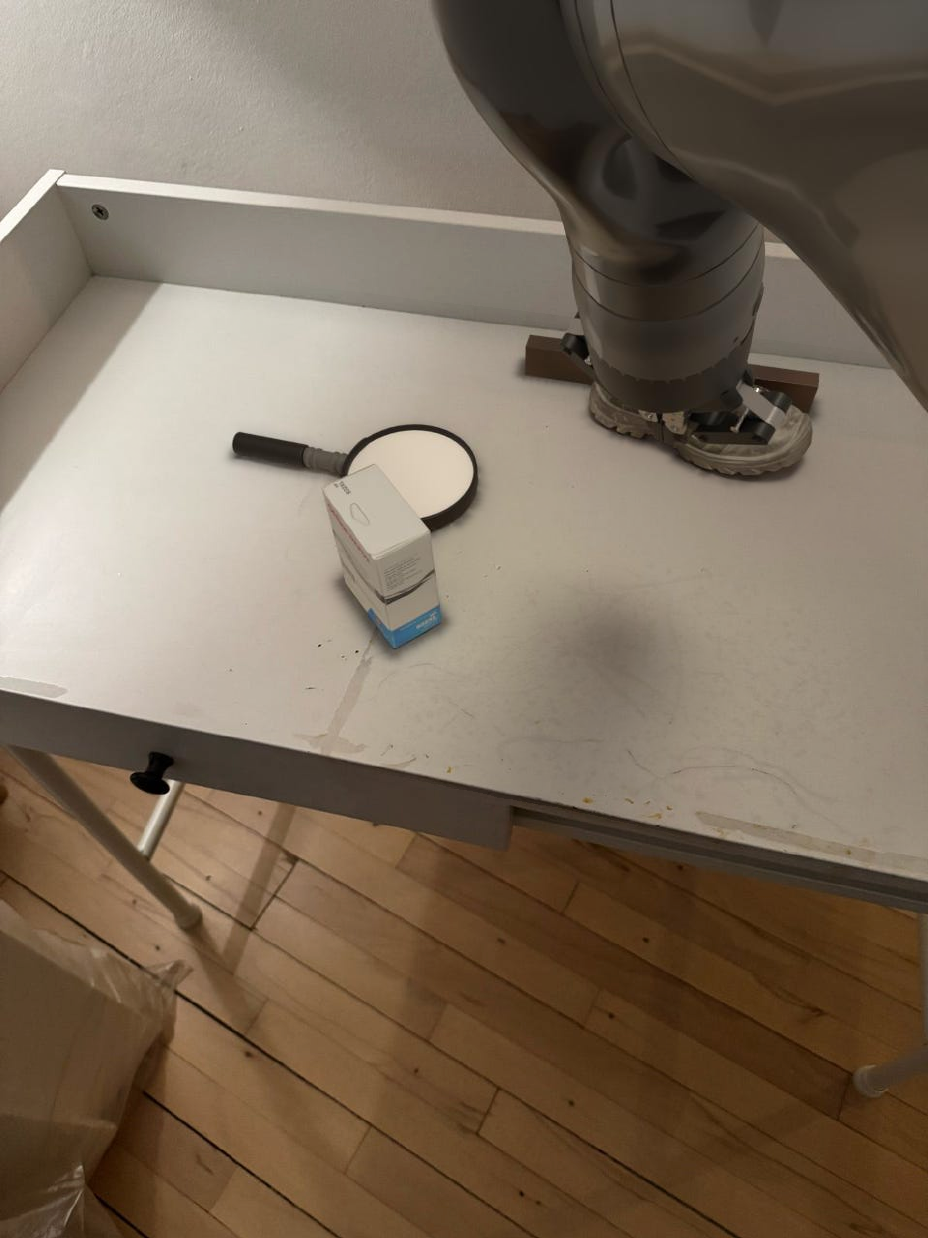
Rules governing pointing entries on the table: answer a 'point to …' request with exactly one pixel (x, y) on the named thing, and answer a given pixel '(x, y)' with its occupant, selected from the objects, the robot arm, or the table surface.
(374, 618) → the ink box
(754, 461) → the hiking shoe
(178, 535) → the table surface
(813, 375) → the brown rectangular bar
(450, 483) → the magnifying glass
